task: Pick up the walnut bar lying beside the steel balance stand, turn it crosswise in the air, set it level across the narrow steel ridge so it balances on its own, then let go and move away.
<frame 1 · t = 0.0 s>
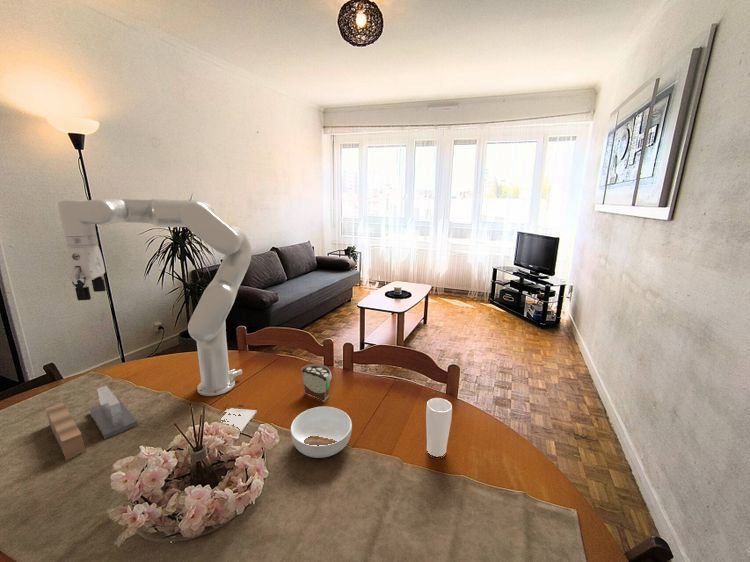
hand: (92, 295, 108), 37 cm above the table, tool pointing down, fingers open, 9 cm apart
drinking glass: (436, 452, 96), on the table
walnut bar: (66, 438, 99), on the table
food container: (320, 394, 123), on the table
cereal bowl: (322, 446, 97), on the table
balance stand: (112, 419, 107), on the table
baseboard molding: (212, 446, 98), on the table
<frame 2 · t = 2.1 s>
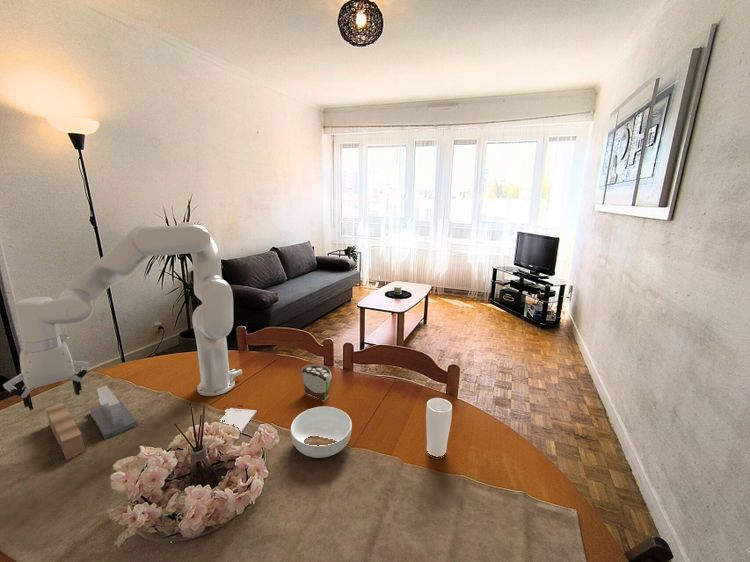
hand: (54, 400, 96), 12 cm above the table, tool pointing down, fingers open, 9 cm apart
nothing on the table moved.
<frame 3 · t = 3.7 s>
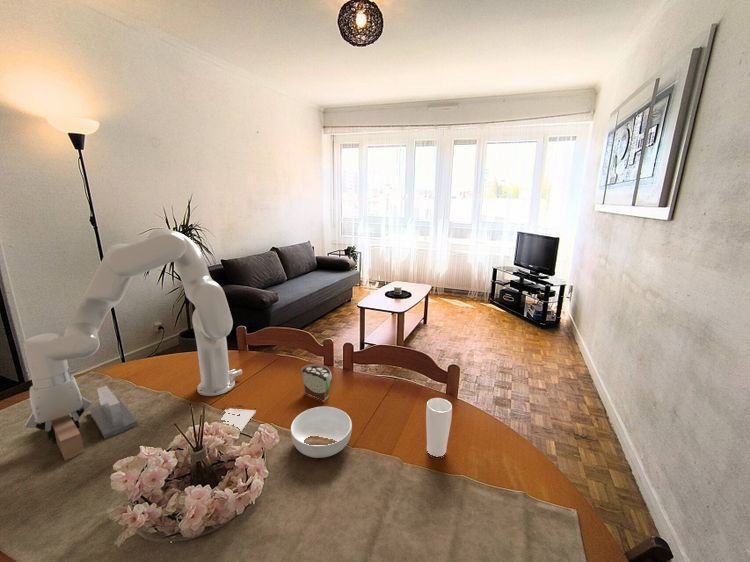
hand: (64, 435, 98), 1 cm above the table, tool pointing down, fingers closed on walnut bar, 4 cm apart
walnut bar: (65, 438, 99), on the table, touching gripper
everything else where it was.
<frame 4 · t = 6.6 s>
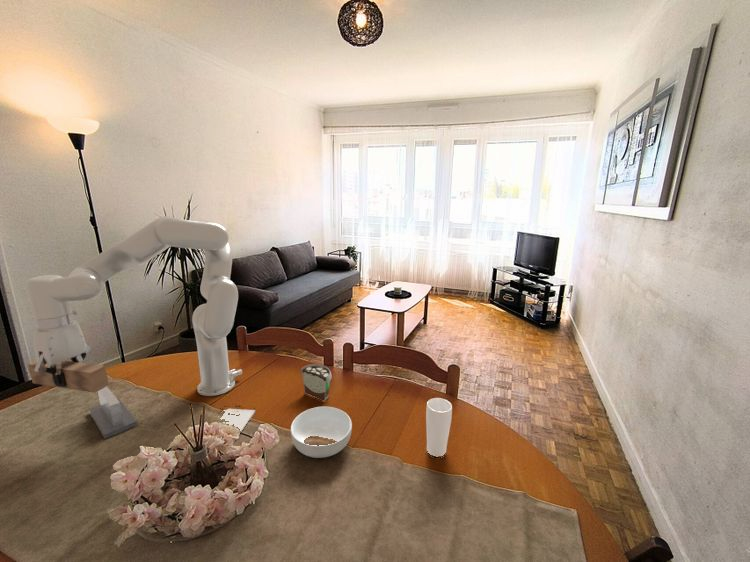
hand: (70, 380, 97), 17 cm above the table, tool pointing down, fingers closed on walnut bar, 4 cm apart
walnut bar: (70, 384, 98), point 16 cm above the table, touching gripper
everything else where it was.
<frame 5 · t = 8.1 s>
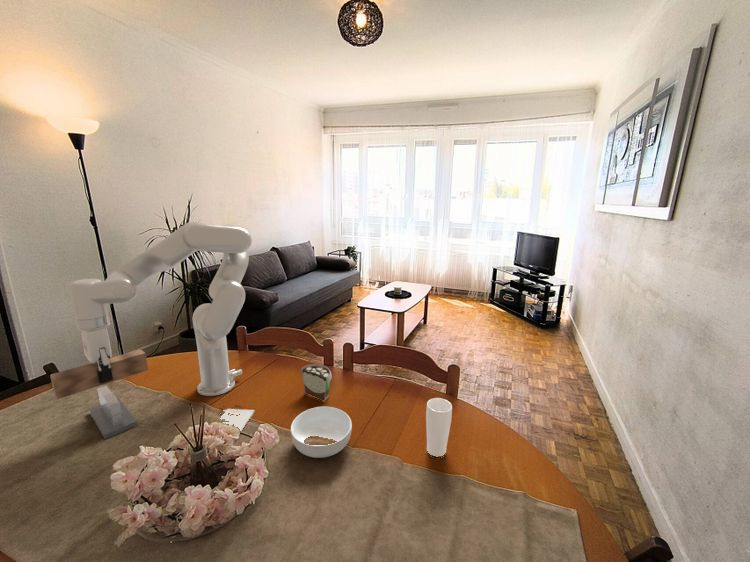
hand: (103, 378, 104), 14 cm above the table, tool pointing down, fingers closed on walnut bar, 4 cm apart
walnut bar: (104, 381, 104), point 13 cm above the table, touching gripper
everything else where it was.
when the fingers open (10 cm above the table, at t = 9.3 s): walnut bar stays where it is, resting on balance stand.
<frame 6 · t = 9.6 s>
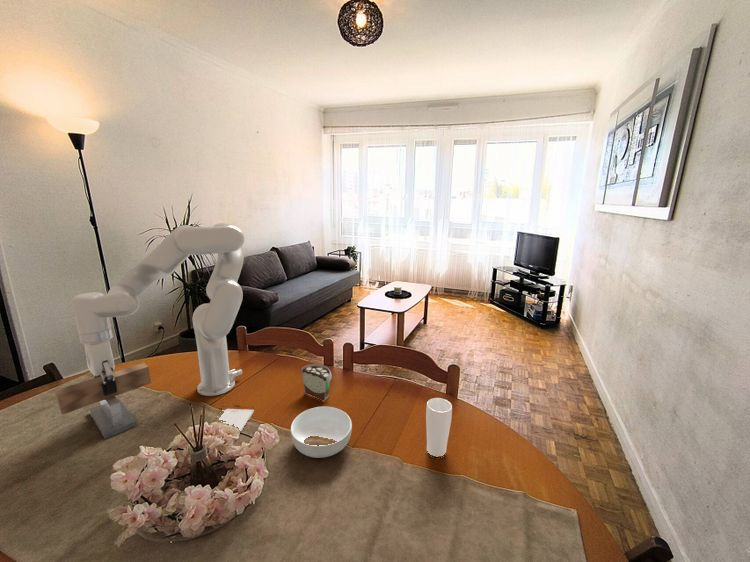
hand: (106, 388, 104), 11 cm above the table, tool pointing down, fingers open, 7 cm apart
walnut bar: (108, 395, 105), point 8 cm above the table, touching balance stand
everything else where it was.
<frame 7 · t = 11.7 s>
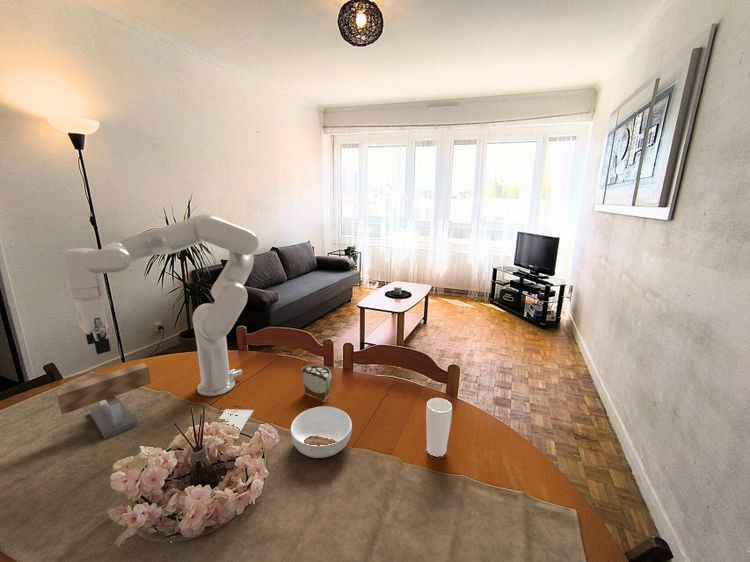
hand: (99, 347, 101), 24 cm above the table, tool pointing down, fingers open, 9 cm apart
nothing on the table moved.
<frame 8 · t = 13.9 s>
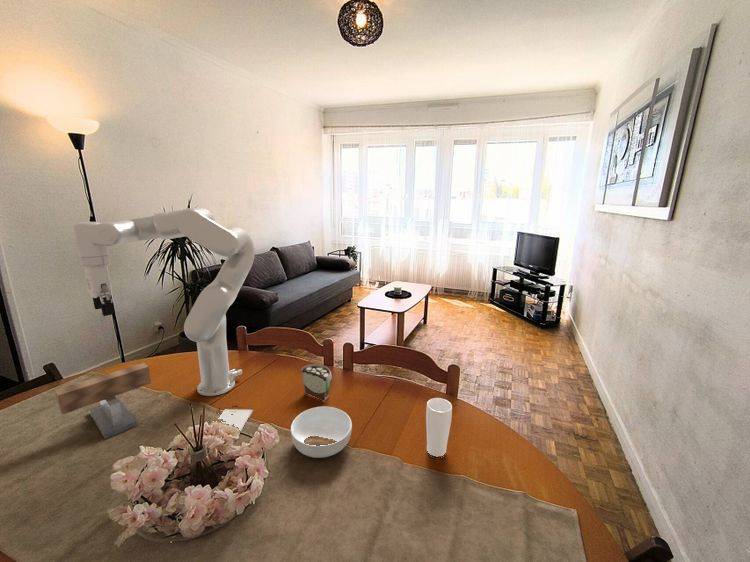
hand: (104, 311, 114), 30 cm above the table, tool pointing down, fingers open, 9 cm apart
at the end: walnut bar 0.0 cm off-centre on the balance stand, point 8.5 cm above the balance stand's base; walnut bar tilted 0°; the gripper is holding nothing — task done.
